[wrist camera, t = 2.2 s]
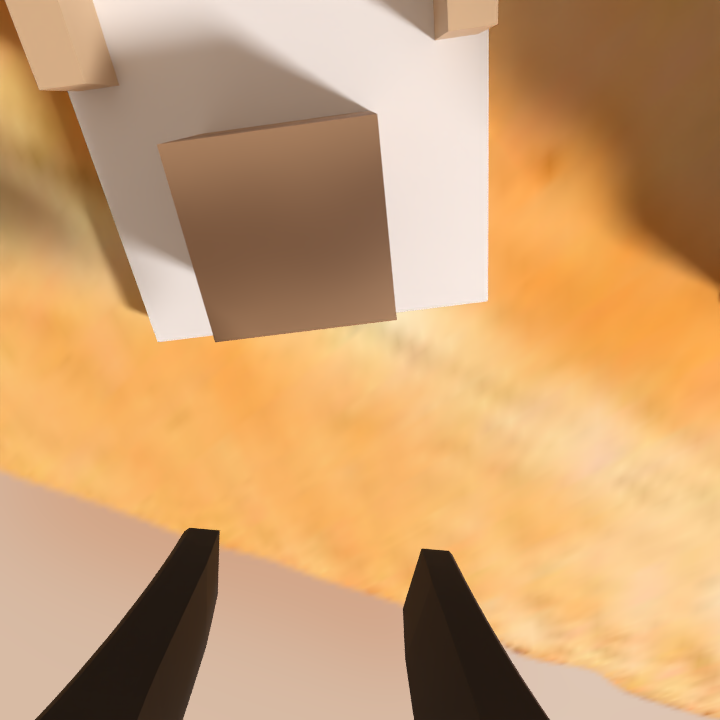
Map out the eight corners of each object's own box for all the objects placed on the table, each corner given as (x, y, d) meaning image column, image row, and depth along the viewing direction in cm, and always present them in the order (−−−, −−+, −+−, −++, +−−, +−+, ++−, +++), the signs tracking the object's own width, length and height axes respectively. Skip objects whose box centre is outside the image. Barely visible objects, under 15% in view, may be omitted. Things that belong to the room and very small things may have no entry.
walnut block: (385, 273, 17) (396, 320, 13) (242, 291, 17) (215, 342, 13) (369, 110, 14) (377, 114, 11) (202, 133, 14) (156, 144, 11)
